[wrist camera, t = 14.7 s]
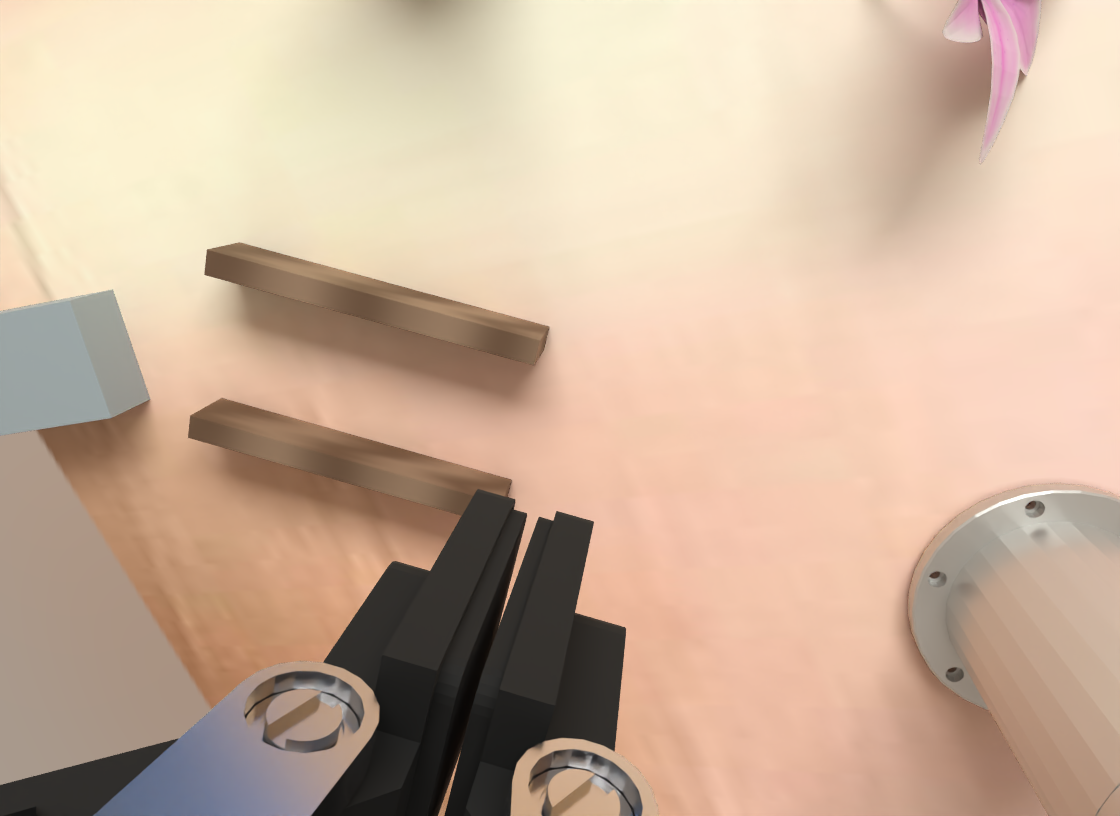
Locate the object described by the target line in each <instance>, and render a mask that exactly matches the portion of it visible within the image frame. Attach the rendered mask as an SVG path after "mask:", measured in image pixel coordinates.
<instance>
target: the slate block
mask: <svg viewBox="0 0 1120 816" xmlns="http://www.w3.org/2000/svg"><path fill="white" fill-rule="evenodd" d="M148 400H150V397H149V394H148V391H147V388H146V385H145V382H144V379H143V376H142V374H141V371H140V368H139V365H138V362H137V359H136V356H135V353H134V350H133V347H132V344H131V341H130V338H129V335H128V333H127V330H126V327H125V324H124V321H123V318H122V315H121V312H120V309H119V306H118V303H117V300H116V297H115V294H114V291H113V290H108V291H103V292H98V293H92V294H87V295H82V296H77V297H71V298H66V299H61V300H56V301H50V302H45V303H40V304H34V305H29V306H24V307H19V308H13V309H8V310H3V311H0V436H1V435H6V434H13V433H20V432H26V431H32V430H39V429H45V428H51V427H58V426H64V425H70V424H77V423H83V422H89V421H96V420H102V419H108V418H113V417H115V416H117V415H119V414H121V413H123V412H125V411H127V410H129V409H131V408H133V407H135V406H138V405H140V404H142V403H144V402H146V401H148Z"/></svg>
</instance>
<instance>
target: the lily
mask: <svg viewBox="0 0 1120 816" xmlns="http://www.w3.org/2000/svg"><path fill="white" fill-rule="evenodd" d="M978 12H979V13H978ZM979 14H980V15H981V17H982V18H983V20H984V21H985V23H986V24H987V25H988V30H989V35H990V42H991V55H992V78H991V93H990V100H989V107H988V114H987V120H986V125H985V130H984V136H983V141H982V147H981V152H980V158H979V161H980V164H981V163H982V162H983V161H984V160H985V158H986V156H987V155H988V153H989V151H990V149H991V148H992V146H993V144H994V142H995V140H996V138H997V135H998V133H999V131H1000V129H1001V127H1002V125H1003V123H1004V120H1005V118H1006V115H1007V113H1008V110H1009V108H1010V105H1011V102H1012V100H1013V97H1014V93H1015V89H1016V86H1017V82H1018V78H1019V69H1021V71H1022V72H1023V73H1024V74H1025V75H1026V76H1027V74H1028V71H1029V69H1030V66H1031V64H1032V61H1033V57H1034V53H1035V49H1036V43H1037V38H1038V32H1039V24H1040V16H1041V0H959V1H958V2H957V4H956V6H955V8H954V9H953V11H952V13H951V15H950V16H949V18H948V20H947V21H946V24H945V27H944V29H943V34H944V36H945V38H947V39H949V40H952V41H956V42H963V43H965V42H976V41H979V40H980V39H981V38H982V36H983V34H982V28H981V24H980V19H979Z"/></svg>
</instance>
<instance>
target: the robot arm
mask: <svg viewBox="0 0 1120 816" xmlns="http://www.w3.org/2000/svg"><path fill="white" fill-rule="evenodd" d="M1031 501H1032V502H1031ZM1029 502H1031V504H1030V505H1027V504H1028V503H1029ZM1026 505H1027V506H1026ZM514 506H515V499H512V498H509V497H505V496H501V495H498V494H494V493H491V492H487V491H484V490H480V489H477V491H476V492H475V494H474V496H473V497H472V499H471V501H470V503H469V504H468V506H467V508H466V510H465V511H464V513H463V515H462V517H461V518H460V520H459V522H458V524H457V525H456V527H455V529H454V531H453V532H452V534H451V536H450V537H449V539H448V541H447V543H446V544H445V546H444V548H443V550H442V551H441V553H440V555H439V557H438V558H437V560H436V562H435V564H434V565H433V567H432V569H431V571H428V570H425V569H421V568H418V567H414V566H411V565H407V564H404V563H400V562H397V561H394V562H392V563H391V564H390V565H389V566H388V568H387V569H386V571H385V572H384V574H383V575H382V577H381V578H380V579H379V581H378V582H377V584H376V585H375V587H374V588H373V590H372V591H371V593H370V594H369V596H368V597H367V599H366V600H365V602H364V603H363V605H362V606H361V607H360V609H359V610H358V612H357V613H356V615H355V616H354V618H353V619H352V621H351V622H350V624H349V625H348V627H347V628H346V630H345V631H344V632H343V634H342V635H341V637H340V638H339V640H338V641H337V643H336V644H335V646H334V647H333V649H332V650H331V652H330V653H329V655H328V656H327V657H326V659H325V660H324V662H323V663H321V662H308V661H297V662H289V663H281V664H277V665H274V666H271V667H268V668H266V669H263V670H260V671H258V672H256V673H255V674H253V675H252V676H250V677H249V678H247V679H246V680H244V681H243V682H242V683H240V684H239V685H238V686H237V687H236V688H235V689H234V690H233V691H231V692H230V693H229V694H228V695H227V696H226V697H225V698H224V699H223V700H221V701H220V702H219V703H218V704H217V705H216V706H215V707H214V708H213V709H211V710H210V711H209V712H208V713H207V714H206V715H205V716H204V717H203V718H201V719H200V720H199V721H198V722H197V723H196V724H195V725H194V726H193V727H191V728H190V729H189V730H188V731H187V732H186V733H185V734H184V735H182V736H181V737H180V738H179V739H175V740H171V741H168V742H163V743H160V744H156V745H152V746H148V747H145V748H140V749H137V750H133V751H129V752H125V753H122V754H118V755H114V756H110V757H106V758H102V759H99V760H95V761H91V762H87V763H84V764H80V765H76V766H72V767H68V768H64V769H60V770H56V771H52V772H49V773H45V774H41V775H37V776H33V777H29V778H26V779H22V780H18V781H14V782H11V783H7V784H3V785H0V816H438V814H439V811H440V808H441V805H442V802H443V800H444V797H445V794H446V791H447V788H448V785H449V782H450V780H451V777H452V774H453V771H454V768H455V765H456V763H457V760H458V757H459V754H460V757H459V761H458V765H457V769H456V773H455V776H454V780H453V784H452V788H451V792H450V796H449V800H448V804H447V808H446V812H445V816H659V811H658V805H657V802H656V800H655V797H654V794H653V791H652V788H651V786H650V785H649V784H648V782H647V781H646V779H645V778H644V776H643V775H642V774H641V772H640V771H639V770H638V769H637V768H636V767H635V766H633V765H632V764H631V763H630V762H629V761H628V760H627V759H625V758H624V757H623V756H621V755H620V754H618V753H616V752H614V751H615V741H616V730H617V720H618V710H619V699H620V689H621V679H622V669H623V658H624V648H625V638H626V628H625V627H622V626H618V625H615V624H612V623H608V622H605V621H601V620H598V619H594V618H591V617H587V616H584V615H580V614H577V613H575V609H576V605H577V600H578V595H579V590H580V586H581V581H582V576H583V572H584V567H585V562H586V557H587V553H588V548H589V543H590V538H591V534H592V529H593V524H594V522H593V521H590V520H586V519H583V518H579V517H576V516H572V515H569V514H565V513H562V512H558V511H557V512H556V514H555V518H554V521H552V520H548V519H545V518H541V517H539V518H538V521H537V523H536V526H535V529H534V532H533V534H532V537H531V540H530V543H529V545H528V548H527V551H526V554H525V556H524V559H523V562H522V565H521V567H520V570H519V573H518V576H517V578H516V581H515V584H514V587H513V589H512V592H511V595H510V598H509V600H508V603H507V606H506V609H505V611H504V614H503V617H502V620H501V616H502V612H503V608H504V604H505V600H506V596H507V592H508V588H509V584H510V581H511V577H512V573H513V569H514V565H515V561H516V557H517V553H518V549H519V546H520V542H521V538H522V534H523V530H524V526H525V522H526V518H527V513H524V512H520V511H517V510H514ZM933 572H936V573H934V574H931V573H933ZM908 616H909V622H910V627H911V632H912V635H913V637H914V639H915V642H916V644H917V646H918V649H919V651H920V653H921V655H922V656H923V658H924V660H925V662H926V663H927V665H928V667H929V668H930V670H931V671H932V672H933V674H934V675H935V676H936V677H937V678H938V679H939V680H940V682H941V683H942V684H944V685H945V686H946V687H947V688H949V689H950V690H951V691H953V692H954V693H955V694H957V695H958V696H960V697H961V698H962V699H964V700H966V701H968V702H970V703H972V704H974V705H976V706H978V707H980V708H983V709H985V710H988V711H990V713H991V715H992V716H993V718H994V720H995V722H996V723H997V725H998V727H999V729H1000V731H1001V732H1002V734H1003V736H1004V738H1005V739H1006V741H1007V743H1008V745H1009V747H1010V748H1011V750H1012V752H1013V754H1014V756H1015V757H1016V759H1017V761H1018V763H1019V764H1020V766H1021V768H1022V770H1023V772H1024V773H1025V775H1026V777H1027V779H1028V780H1029V782H1030V784H1031V786H1032V788H1033V789H1034V791H1035V793H1036V795H1037V797H1038V798H1039V800H1040V802H1041V804H1042V805H1043V807H1044V809H1045V811H1046V813H1047V814H1048V816H1120V497H1119V496H1117V495H1115V494H1113V493H1111V492H1107V491H1104V490H1100V489H1096V488H1093V487H1089V486H1085V485H1074V484H1063V483H1053V484H1040V485H1030V486H1026V487H1021V488H1017V489H1013V490H1009V491H1005V492H1002V493H1000V494H997V495H995V496H993V497H990V498H988V499H985V500H983V501H980V502H979V503H977V504H975V505H974V506H972V507H971V508H969V509H967V510H966V511H964V512H963V513H961V514H959V515H958V516H957V517H956V518H954V519H953V520H952V521H951V522H950V523H949V524H948V525H947V526H945V527H944V528H943V529H942V530H941V531H940V532H939V533H938V534H937V535H936V537H935V538H934V539H933V541H932V542H931V543H930V544H929V546H928V547H927V548H926V549H925V551H924V553H923V555H922V557H921V559H920V561H919V563H918V565H917V567H916V569H915V570H914V574H913V577H912V581H911V585H910V589H909V595H908ZM500 620H501V622H500ZM499 623H500V625H499ZM498 627H499V628H498ZM461 748H462V749H461ZM460 751H461V753H460Z"/></svg>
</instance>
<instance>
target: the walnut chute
mask: <svg viewBox="0 0 1120 816" xmlns="http://www.w3.org/2000/svg"><path fill="white" fill-rule="evenodd" d="M205 275H207V276H211V277H214V278H218V279H221V280H225V281H229V282H232V283H236V284H240V285H243V286H247V287H251V288H254V289H258V290H262V291H265V292H269V293H272V294H276V295H280V296H283V297H287V298H291V299H294V300H298V301H302V302H305V303H309V304H313V305H316V306H320V307H323V308H327V309H331V310H334V311H338V312H342V313H345V314H349V315H353V316H356V317H360V318H364V319H367V320H371V321H374V322H378V323H382V324H385V325H389V326H393V327H396V328H400V329H404V330H407V331H411V332H415V333H418V334H422V335H426V336H429V337H433V338H436V339H440V340H444V341H447V342H451V343H455V344H458V345H462V346H466V347H469V348H473V349H477V350H480V351H484V352H487V353H491V354H495V355H498V356H502V357H506V358H509V359H513V360H517V361H520V362H524V363H528V364H531V365H534V364H535V363H536V361H537V360H538V358H539V356H540V355H541V353H542V352H543V350H544V347H545V343H546V338H547V334H548V330H549V327H548V326H544V325H541V324H537V323H533V322H530V321H526V320H522V319H519V318H515V317H511V316H508V315H504V314H500V313H497V312H493V311H489V310H486V309H482V308H478V307H475V306H471V305H467V304H463V303H460V302H456V301H452V300H449V299H445V298H441V297H438V296H434V295H430V294H427V293H423V292H419V291H416V290H412V289H408V288H405V287H401V286H397V285H394V284H390V283H386V282H383V281H379V280H375V279H372V278H368V277H364V276H361V275H357V274H353V273H349V272H346V271H342V270H338V269H335V268H331V267H327V266H324V265H320V264H316V263H313V262H309V261H305V260H302V259H298V258H294V257H291V256H287V255H283V254H280V253H276V252H272V251H269V250H265V249H261V248H258V247H254V246H250V245H246V244H243V243H235V244H231V245H226V246H222V247H217V248H212V249H208V250H207V255H206V265H205ZM188 438H191V439H195V440H198V441H202V442H205V443H209V444H212V445H216V446H219V447H223V448H226V449H230V450H233V451H237V452H240V453H244V454H248V455H251V456H255V457H258V458H262V459H265V460H269V461H272V462H276V463H279V464H283V465H286V466H290V467H293V468H297V469H300V470H304V471H307V472H311V473H314V474H318V475H321V476H325V477H328V478H332V479H335V480H339V481H342V482H346V483H349V484H353V485H356V486H360V487H363V488H367V489H370V490H374V491H377V492H381V493H384V494H388V495H391V496H395V497H398V498H402V499H405V500H409V501H412V502H416V503H420V504H423V505H427V506H430V507H434V508H437V509H441V510H444V511H448V512H451V513H455V514H458V515H463V513H464V511H465V510H466V508H467V506H468V504H469V503H470V501H471V499H472V497H473V496H474V494H475V492H476V491H477V489H480V490H484V491H487V492H491V493H494V494H498V495H501V496H505V497H508V493H509V489H510V485H511V481H512V480H510V479H507V478H503V477H500V476H496V475H493V474H489V473H485V472H482V471H478V470H475V469H471V468H468V467H464V466H461V465H457V464H454V463H450V462H446V461H443V460H439V459H436V458H432V457H429V456H425V455H422V454H418V453H415V452H411V451H407V450H404V449H400V448H397V447H393V446H390V445H386V444H383V443H379V442H375V441H372V440H368V439H365V438H361V437H358V436H354V435H351V434H347V433H344V432H340V431H336V430H333V429H329V428H326V427H322V426H319V425H315V424H312V423H308V422H305V421H301V420H297V419H294V418H290V417H287V416H283V415H280V414H276V413H273V412H269V411H265V410H262V409H258V408H255V407H251V406H248V405H244V404H241V403H237V402H234V401H230V400H226V399H223V398H221V399H219V400H218V401H216V402H214V403H212V404H210V405H209V406H207V407H205V408H203V409H201V410H200V411H198V412H196V413H194V414H192V415H191V416H190V424H189V434H188Z"/></svg>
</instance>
